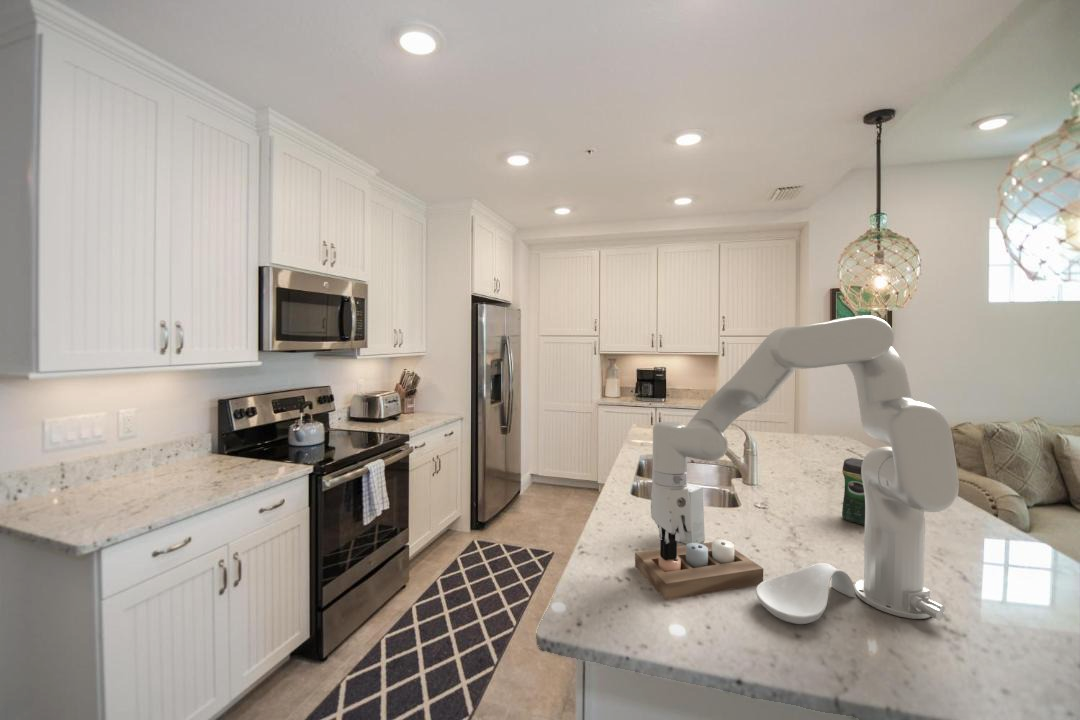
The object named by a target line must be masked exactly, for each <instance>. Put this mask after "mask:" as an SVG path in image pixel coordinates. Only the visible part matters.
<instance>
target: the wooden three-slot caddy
mask: <svg viewBox="0 0 1080 720" xmlns="http://www.w3.org/2000/svg"><path fill="white" fill-rule="evenodd" d="M700 544H702V545H705V546H706V547H707V548H708V566H704V567H698V568H692V567H691V566H690V565H689V564H687V563H686V545H687V544H684V545H679V546H678V545H677V556H678V557H679V558H680V559H681V570H677V571H671V572H664V571H663V570H662V569H661V568H660V567H659V556H660V548H658V549H651V550H650V549H649V550H641V551H640V550H639V551H635V552H634V567H635V568H636V569H637V571H639V572H640V574H641V575H642V576H643V577H644V578H645V580H647V581H648V583H650V585H651V586H652V587H653V588H654V589H655V590H656V591H657V593H659V594H660V595H661V596H662V597H663V598H664V600H666V601H668V600H674V599H680V598H685V597H686V598H687V597H692V596H693V597H694V596H698V595H699V596H700V595H704V594H711V593H716V592H722V591H723V592H724V591H728V590H734V589H742V588H747V587H753V586H754V587H755V586H758V585H759V584H760V583H761V582H763V581H764V567H762V566H760V564H758V563H756V562H755V561H753V560H752V559H750V558H749V557H747V556H745V555H744V554H743V553H741V552H740V551H739V550H737V549H735V548H734V562H731V563H725V564H719V563H718V562H717V561H715V560H714V559H713V558H712V541H709V542H702V543H700Z"/></svg>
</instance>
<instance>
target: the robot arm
mask: <svg viewBox="0 0 1080 720" xmlns="http://www.w3.org/2000/svg"><path fill="white" fill-rule="evenodd" d="M893 343H894V331H893V328H892V327H891V325H890V324H889V323H888V322H887V321H885V320H884V319H882V318H880V317H878V316H874V315H857V316H852V317H851V316H849V317H848V316H847V317H841V318H839V317H838V318H836V319H831V320H829V321H826V322H820V323H812V324H804V325H803V324H802V325H794V326H784V327H780V328H777V329H774V330H773V331H772V332H770V333H769V335H767V336H766V338H765V339H764V340H763V341H762V342H761V343H760V344H759V345H758V347H757V348H755V350H754V351H753V353H752V354H751V355H750V356H749V358H747V360H746V361H745V362H744V363H743V364H742V366H741V367H740V368H739V369H738V370H737V372H736V373H735V374H734V375H733V376H732V377H731V378H730V379H729V380H728V381H727V382H726V383H725V384H723V385H722V386H721V387H720V388H719V389H718V390H717V391H716V392H715V393H714V394H713V395H712V396H711V397H710V398H709V399H708V400H707V401H705V403H704V404H703V405H702V406H701V407H700V408H699V410H697V412H696V413H695V414H694V415H693V417H692V418H691V419H690V420H689V422H688V423H687V425H685V424H683V423H680V422H675V421H660V422H656V423H655V424H654V426H653V428H652V471H651V472H652V473H651V474H652V475H651V477H652V478H651V479H652V480H651V482H652V483H651V484H652V486H651V495H650V517H651V519H652V520H653V521H654V523H655V525H656V526H657V529H658V536H659V538H660V541H659V543H660V547H659V549H660V556H661V557H662V558H663V559H664V560H671V559H676V558H677V547H678V543H679V542H680V541H685V537H684V531H685V532H687V533H690V532H691V506H690V497H689V491H688V488H687V483H688V458H689V459H690V458H691V459H696V460H700V461H708V462H711V461H712V462H713V461H718V460H720V459H722V458H723V456H725V455H726V454H727V451H728V447H729V444H728V443H729V442H728V439H727V436H726V435H725V434H724V432H725V431H726V430H727V429H728V428H729V426H731V424H732V423H733V422H734V421H736V420H737V419H738V418H739V417H740V416H742V415H743V414H745V413H748V412H750V411H753V410H756V409H757V408H760V407H762V406H764V405H766V404H767V403H768V402H769V401H770V399H772V398H773V396H774V395H775V394H776V393H777V391H779V389H780V388H781V387H782V386H783V384H785V382H787V380H788V379H789V378H790V377H791V376H792V374H794V372H795V371H796V370H807V369H817V368H825V367H834V366H840V365H846V366H847V367H848V368H849V369H850V372H851V373H852V377H853V379H854V383H855V386H856V392H857V401H858V405H859V407H858V408H859V413H860V421H861V426H862V428H863V431H864V432H865V433H866V434H867V435H868V436H869V437H870V438H872V439H874V440H876V441H879V442H881V443H884V444H887V445H889V446H880V447H876V448H873V449H872V450H870V451H869V452H868V453H866V454H865V456H864V458H863V459H862V460H863V462H862V466H861V474H862V481H863V487H864V494H865V525H864V542H863V543H864V548H863V549H864V550H863V551H864V553H863V579H860V580H857V581H856V582H855V583H854V589H855V595H857V596H858V598H859V599H861V600H862V601H863V602H864V603H866V604H867V605H869V606H871V607H873V608H875V609H877V610H879V611H881V612H884V613H887V614H890V615H893V616H897V617H901V618H905V619H913V620H923V619H929V618H930V617H932V618H934V619H935V620H938V621H941V620H942V619H943V618H944V611H945V610H946V608H945V606H944V605H942V604H941V603H939V602H936V601H934V600H932V598H931V590H930V589H928V588H926V587H925V551H926V548H925V545H926V544H925V543H926V541H925V540H926V515H925V513H939V512H942V511H945V510H947V509H949V508H950V507H951V506H952V505H953V504H954V502H955V501H956V500H957V497H958V495H959V488H960V484H959V483H960V481H959V472H958V465H957V459H956V452H955V446H954V445H955V444H954V439H953V433H952V430H951V426H950V424H949V423H948V420H947V419H946V417H945V416H944V415H943V414H942V412H941V411H939V410H938V409H937V408H936V407H934V406H933V405H930V404H928V403H925V402H923V401H918V400H914V399H913V395H912V392H911V386H910V383H909V378H908V375H907V370H906V366H905V364H904V362H903V360H902V358H901V356H900V355H899V353H898V352H897V350H895V348H894V347H893V346H892V345H893ZM680 543H681V542H680Z"/></svg>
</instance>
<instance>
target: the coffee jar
mask: <svg viewBox="0 0 1080 720" xmlns="http://www.w3.org/2000/svg"><path fill="white" fill-rule="evenodd" d="M862 462H863V459H860V458H854V457H849V458H846V459H844V462H843V464H842V465H843V466H842V471H841V472H842V474H843V477H844V490H843V491H844V492H843V501H842V508H841V509H842V511H841V516H842V518H843V519H844V520H846V521H848V522H852V523H854V522H855V524H859V525H861V524H862V526H865V494H864V487H863V481H862V474H861V466H862Z"/></svg>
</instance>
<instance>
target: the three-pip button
mask: <svg viewBox="0 0 1080 720" xmlns="http://www.w3.org/2000/svg"><path fill="white" fill-rule="evenodd" d="M659 567H660V568H661V569H662V570H663V571H664V572H671V571H677V570H681V559H680V558H679V557H678V556H677V558H676V559H671V560H664V559H663V558H662V557H661V556H659Z"/></svg>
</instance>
